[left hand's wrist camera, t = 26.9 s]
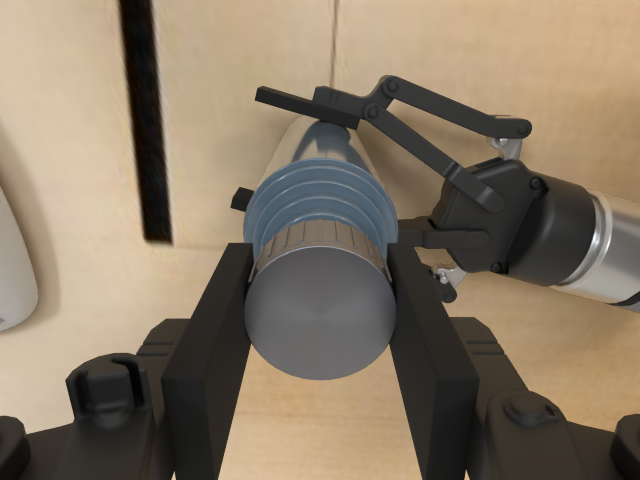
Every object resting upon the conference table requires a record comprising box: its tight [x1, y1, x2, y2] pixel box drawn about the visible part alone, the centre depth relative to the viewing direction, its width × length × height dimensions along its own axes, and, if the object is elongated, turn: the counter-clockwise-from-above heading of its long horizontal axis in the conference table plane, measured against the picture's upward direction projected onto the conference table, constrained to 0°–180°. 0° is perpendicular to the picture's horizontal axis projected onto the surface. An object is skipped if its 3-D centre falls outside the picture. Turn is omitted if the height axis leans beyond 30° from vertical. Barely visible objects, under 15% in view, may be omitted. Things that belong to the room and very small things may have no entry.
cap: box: [244, 219, 397, 380], centre depth 14 cm, size 4×4×2 cm
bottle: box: [243, 115, 398, 261], centre depth 25 cm, size 6×6×25 cm
